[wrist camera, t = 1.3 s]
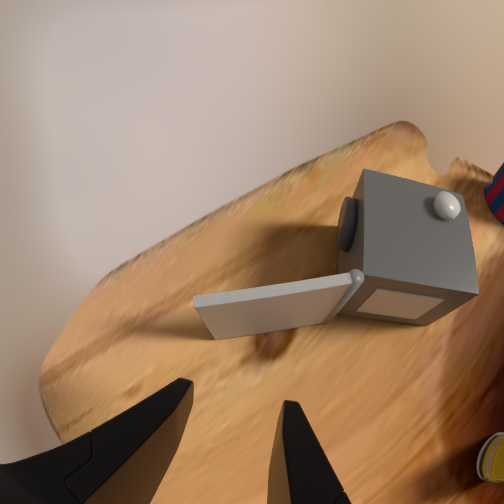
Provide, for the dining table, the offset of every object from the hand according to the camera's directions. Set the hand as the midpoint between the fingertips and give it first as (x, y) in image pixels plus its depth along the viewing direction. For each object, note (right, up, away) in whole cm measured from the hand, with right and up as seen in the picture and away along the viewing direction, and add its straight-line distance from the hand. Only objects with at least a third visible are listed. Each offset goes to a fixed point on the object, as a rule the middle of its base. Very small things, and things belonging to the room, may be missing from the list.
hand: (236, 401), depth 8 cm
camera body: (+11, +2, +16) cm, 20 cm away
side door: (+2, -1, +14) cm, 14 cm away
